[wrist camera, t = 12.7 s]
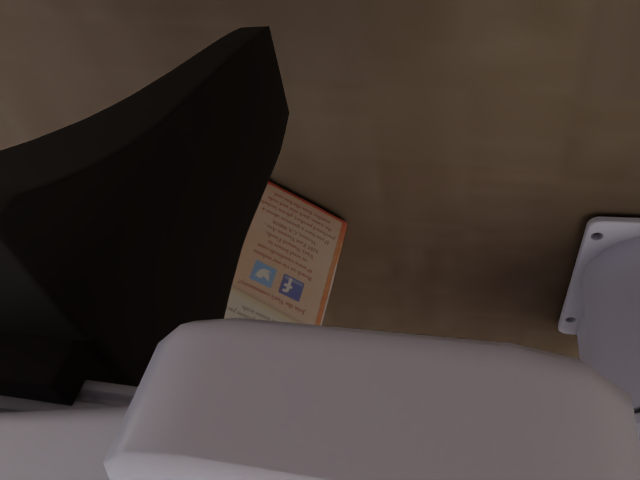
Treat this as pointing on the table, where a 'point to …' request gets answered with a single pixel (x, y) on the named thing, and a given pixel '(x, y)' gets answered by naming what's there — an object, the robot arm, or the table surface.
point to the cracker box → (286, 261)
